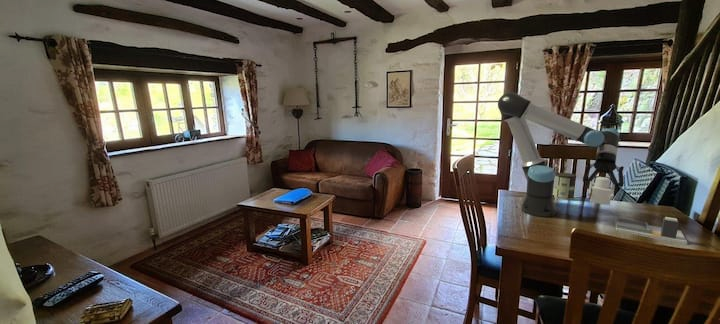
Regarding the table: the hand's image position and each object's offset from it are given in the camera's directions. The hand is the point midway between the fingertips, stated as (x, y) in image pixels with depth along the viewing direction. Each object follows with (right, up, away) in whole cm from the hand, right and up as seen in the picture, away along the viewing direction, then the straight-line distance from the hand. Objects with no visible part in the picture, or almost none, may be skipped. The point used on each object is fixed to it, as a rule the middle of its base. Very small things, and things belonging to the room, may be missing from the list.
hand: (600, 196), depth 134 cm
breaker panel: (+15, -15, -6) cm, 22 cm away
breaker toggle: (+17, -15, -13) cm, 26 cm away
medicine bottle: (+2, -3, +3) cm, 5 cm away
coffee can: (+12, -6, +43) cm, 45 cm away
